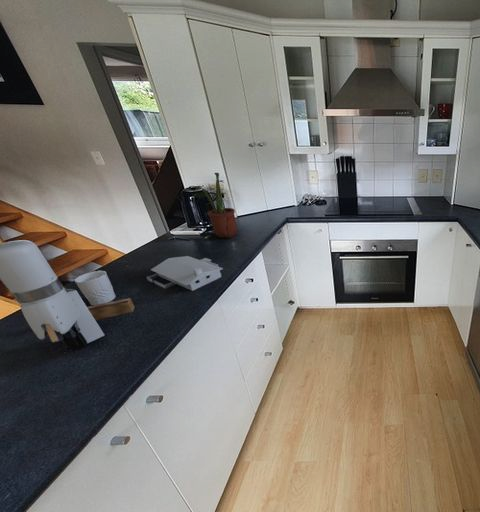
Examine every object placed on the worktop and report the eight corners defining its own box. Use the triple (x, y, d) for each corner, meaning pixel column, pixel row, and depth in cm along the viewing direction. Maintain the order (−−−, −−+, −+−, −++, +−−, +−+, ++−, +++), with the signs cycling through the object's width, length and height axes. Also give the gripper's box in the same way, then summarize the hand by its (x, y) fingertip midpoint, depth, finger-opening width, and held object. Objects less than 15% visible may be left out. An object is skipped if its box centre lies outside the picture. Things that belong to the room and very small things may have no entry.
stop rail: (67, 326, 86) (60, 315, 84) (72, 321, 88) (64, 309, 86) (132, 312, 93) (127, 300, 90) (134, 307, 95) (129, 296, 93)
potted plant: (237, 230, 162) (222, 170, 146) (244, 238, 151) (229, 174, 136) (203, 237, 152) (183, 173, 136) (209, 246, 141) (188, 178, 126)
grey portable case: (238, 269, 120) (234, 254, 116) (182, 296, 101) (176, 279, 98) (203, 257, 130) (199, 243, 127) (146, 280, 111) (140, 264, 108)
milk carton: (99, 333, 83) (64, 277, 78) (105, 335, 79) (67, 277, 74) (67, 347, 78) (26, 288, 72) (71, 351, 74) (28, 289, 68)
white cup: (118, 291, 103) (106, 268, 99) (117, 301, 98) (105, 277, 94) (89, 299, 99) (76, 275, 94) (87, 309, 93) (72, 284, 89)
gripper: (35, 280, 70) (72, 334, 78) (-5, 312, 58) (45, 372, 67) (74, 273, 73) (106, 326, 81) (44, 302, 61) (86, 360, 70)
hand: (78, 346), depth 74 cm, fingers closed
